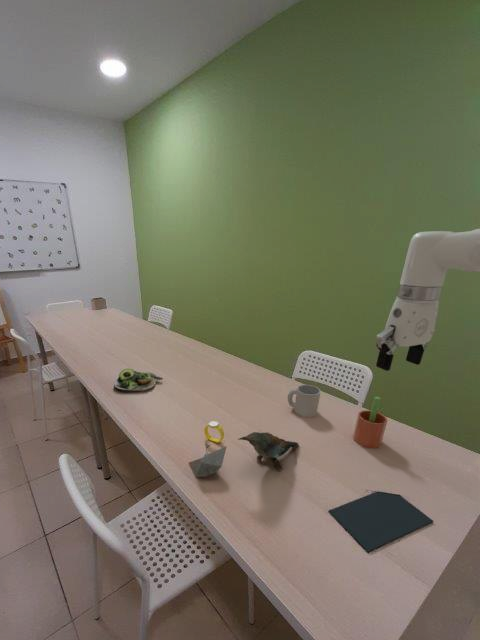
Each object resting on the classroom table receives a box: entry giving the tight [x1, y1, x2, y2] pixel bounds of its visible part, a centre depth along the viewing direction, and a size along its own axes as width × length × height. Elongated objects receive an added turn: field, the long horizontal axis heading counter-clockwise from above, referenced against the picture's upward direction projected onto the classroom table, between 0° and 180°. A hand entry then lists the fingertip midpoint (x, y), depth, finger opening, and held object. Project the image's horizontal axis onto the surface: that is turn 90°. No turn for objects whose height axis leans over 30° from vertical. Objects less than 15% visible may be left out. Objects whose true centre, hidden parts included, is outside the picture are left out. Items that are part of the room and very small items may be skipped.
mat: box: [328, 490, 434, 554], centre depth 63 cm, size 18×10×1 cm, turn 110°
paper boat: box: [188, 444, 228, 478], centre depth 77 cm, size 12×6×9 cm
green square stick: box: [369, 396, 382, 423], centre depth 84 cm, size 1×1×14 cm
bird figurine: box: [237, 431, 300, 472], centre depth 78 cm, size 13×10×20 cm
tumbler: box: [352, 409, 388, 449], centre depth 85 cm, size 7×7×8 cm
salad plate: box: [113, 368, 164, 393], centre depth 125 cm, size 19×18×5 cm
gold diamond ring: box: [203, 420, 225, 444], centre depth 88 cm, size 6×3×6 cm, turn 57°
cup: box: [287, 384, 321, 418], centre depth 100 cm, size 7×10×9 cm
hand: (397, 365), depth 72 cm, fingers open, 9 cm apart
